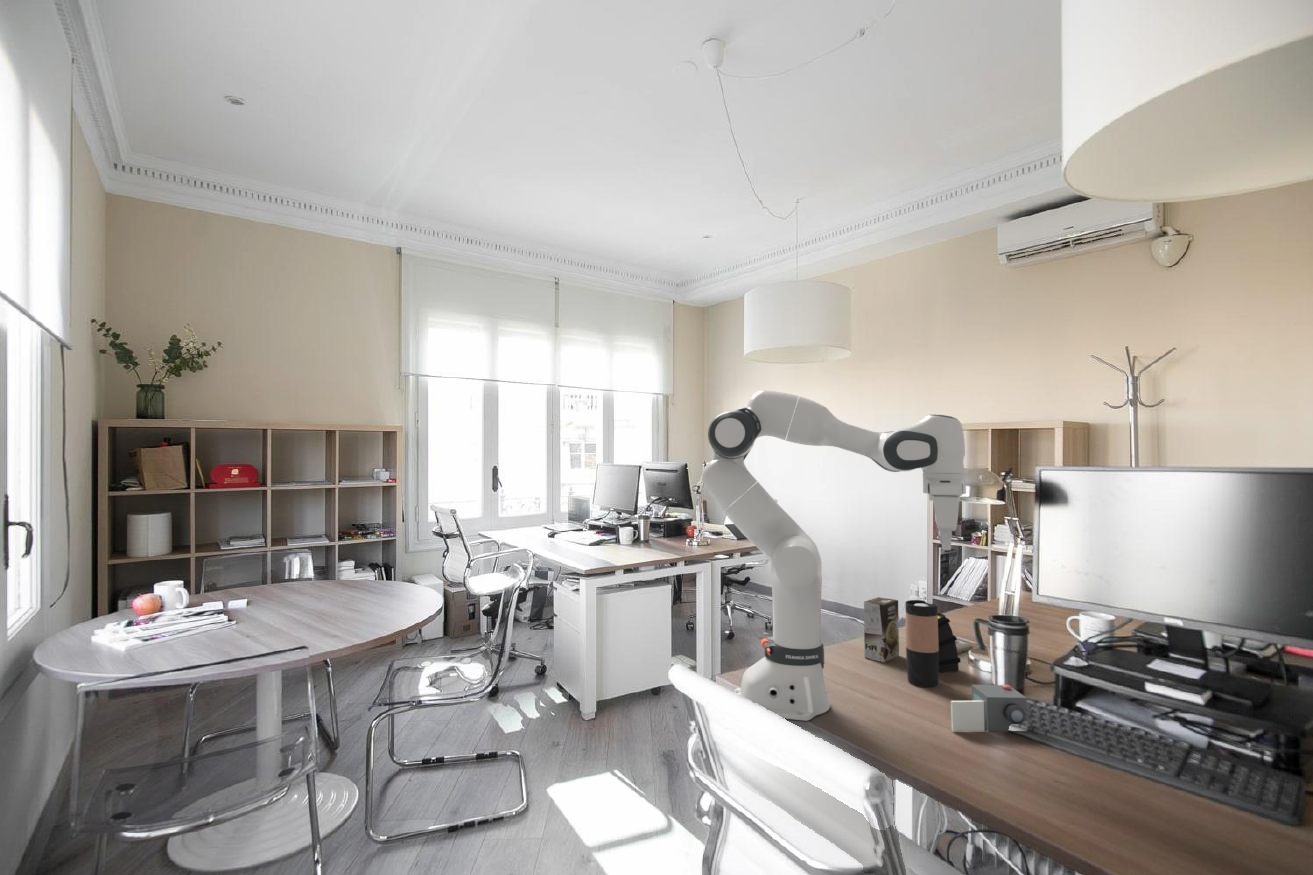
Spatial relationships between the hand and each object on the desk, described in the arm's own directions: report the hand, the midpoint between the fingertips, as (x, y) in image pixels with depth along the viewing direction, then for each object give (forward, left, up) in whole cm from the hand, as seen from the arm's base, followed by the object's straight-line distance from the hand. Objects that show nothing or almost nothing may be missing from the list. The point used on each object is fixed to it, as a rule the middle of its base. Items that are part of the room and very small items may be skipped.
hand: (945, 546), depth 137 cm
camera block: (+8, -6, -37) cm, 38 cm away
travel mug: (+1, +18, -37) cm, 41 cm away
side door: (0, -10, -37) cm, 38 cm away
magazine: (+7, +27, -37) cm, 46 cm away
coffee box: (-3, +38, -37) cm, 53 cm away
